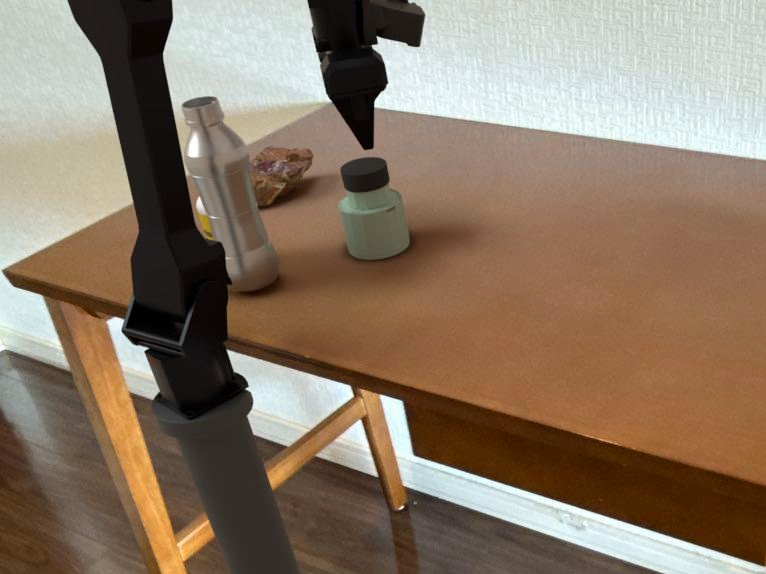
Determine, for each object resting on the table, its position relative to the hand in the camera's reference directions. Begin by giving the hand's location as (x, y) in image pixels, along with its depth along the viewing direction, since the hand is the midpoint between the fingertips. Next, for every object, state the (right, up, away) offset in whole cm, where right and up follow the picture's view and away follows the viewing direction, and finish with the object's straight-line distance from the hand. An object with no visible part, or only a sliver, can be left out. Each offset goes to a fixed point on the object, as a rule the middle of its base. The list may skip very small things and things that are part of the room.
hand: (364, 134), depth 111 cm
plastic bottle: (-13, -16, +4) cm, 21 cm away
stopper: (0, -6, +5) cm, 8 cm away
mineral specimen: (-16, +2, +24) cm, 29 cm away
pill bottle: (-15, -13, +7) cm, 21 cm away
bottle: (0, -10, +8) cm, 13 cm away
